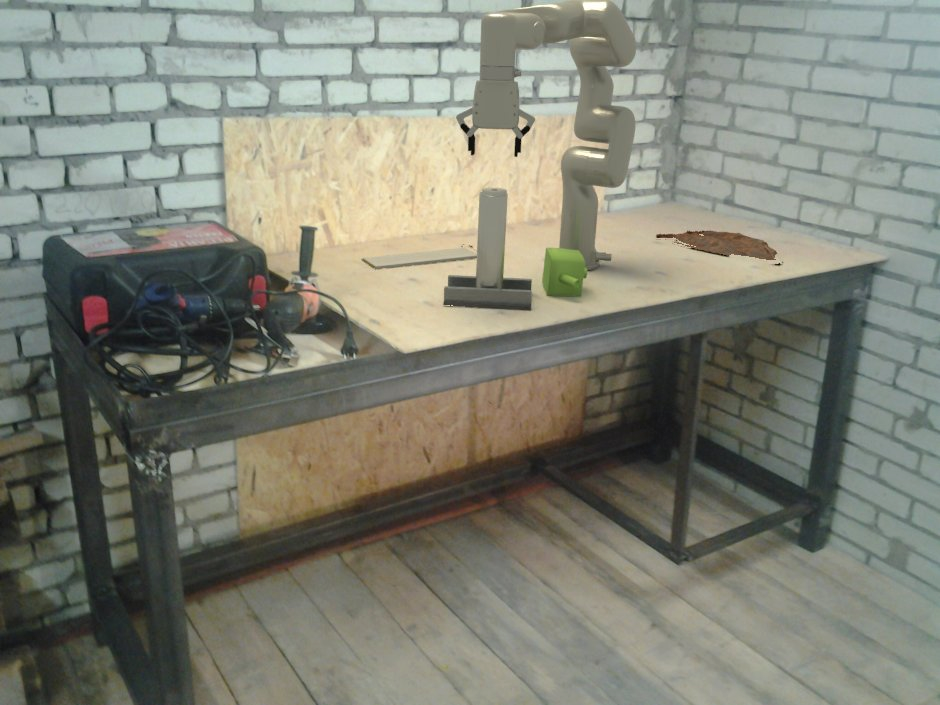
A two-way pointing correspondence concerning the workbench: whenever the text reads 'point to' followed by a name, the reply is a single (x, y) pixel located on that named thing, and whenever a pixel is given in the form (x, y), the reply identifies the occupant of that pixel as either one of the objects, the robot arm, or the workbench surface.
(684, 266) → the workbench surface
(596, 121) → the robot arm
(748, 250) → the brown flat irregular piece
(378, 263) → the baseboard
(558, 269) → the lime handled box
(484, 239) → the tan metal cylinder
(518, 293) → the floor track
